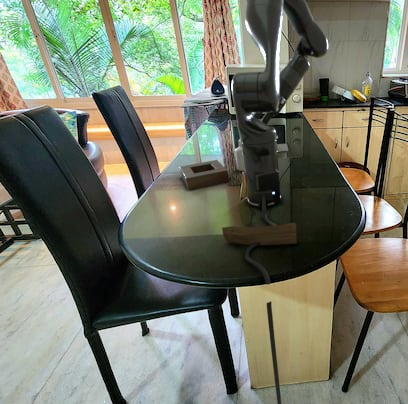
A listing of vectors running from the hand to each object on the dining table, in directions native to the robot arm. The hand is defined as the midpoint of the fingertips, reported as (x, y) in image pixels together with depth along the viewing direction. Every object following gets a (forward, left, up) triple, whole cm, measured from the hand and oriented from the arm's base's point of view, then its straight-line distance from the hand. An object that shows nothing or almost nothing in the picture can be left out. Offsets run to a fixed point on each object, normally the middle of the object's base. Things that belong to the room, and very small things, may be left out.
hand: (258, 121), depth 100 cm
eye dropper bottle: (0, +7, -17) cm, 18 cm away
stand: (-2, +22, -16) cm, 28 cm away
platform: (+20, -11, -17) cm, 28 cm away
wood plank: (-48, +20, -17) cm, 54 cm away
